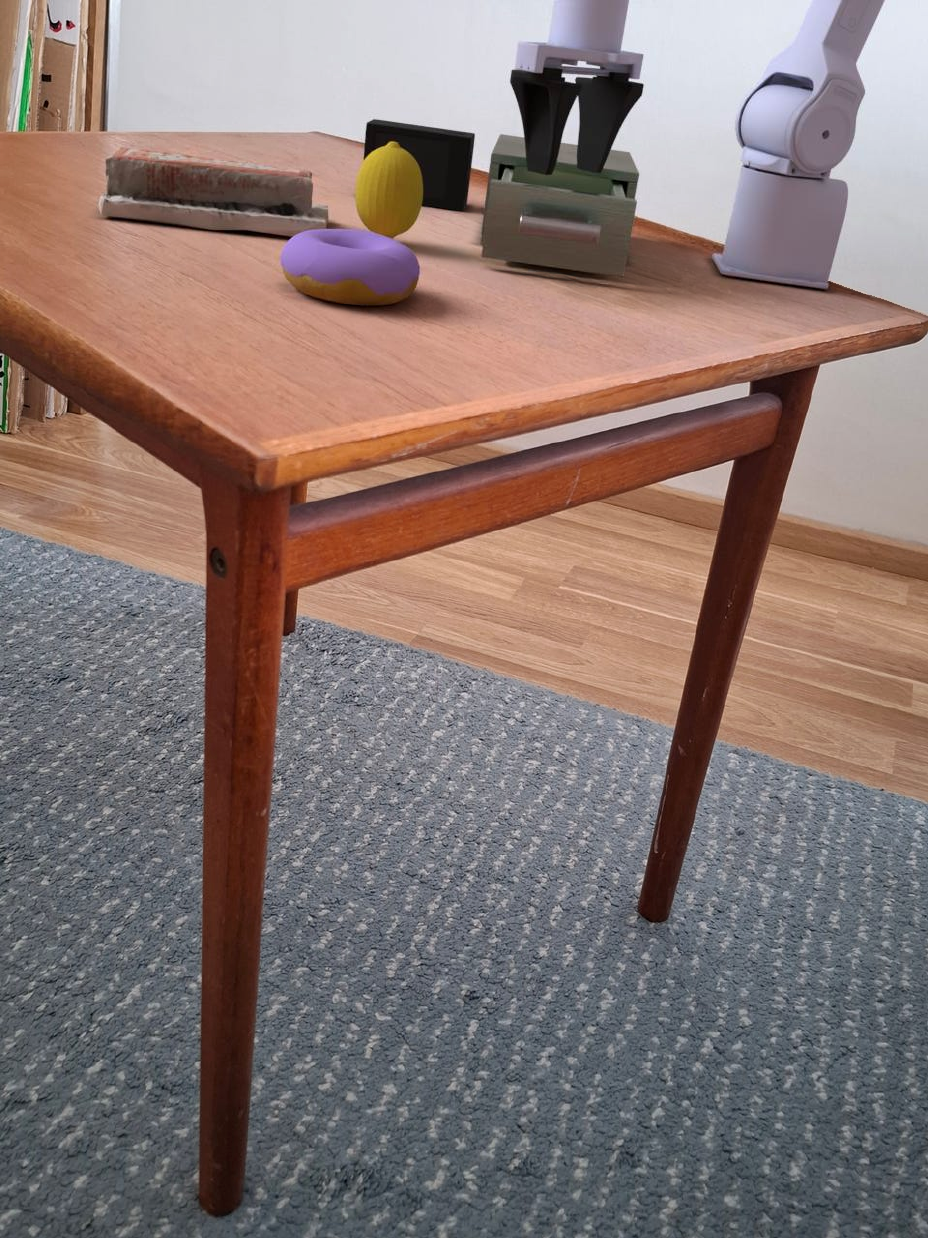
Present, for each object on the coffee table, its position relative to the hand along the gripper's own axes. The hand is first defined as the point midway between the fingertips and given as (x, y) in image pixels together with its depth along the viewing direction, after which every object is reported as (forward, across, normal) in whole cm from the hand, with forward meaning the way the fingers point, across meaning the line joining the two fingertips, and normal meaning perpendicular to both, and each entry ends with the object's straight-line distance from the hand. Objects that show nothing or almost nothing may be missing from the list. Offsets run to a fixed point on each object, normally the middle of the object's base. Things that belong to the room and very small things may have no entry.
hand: (565, 171), depth 98 cm
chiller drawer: (+6, -1, -1) cm, 7 cm away
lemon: (+8, -9, +10) cm, 16 cm away
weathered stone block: (+8, -18, +22) cm, 29 cm away
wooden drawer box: (+7, +9, +7) cm, 14 cm away
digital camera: (+8, +10, +25) cm, 28 cm away
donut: (+8, -25, -1) cm, 26 cm away
